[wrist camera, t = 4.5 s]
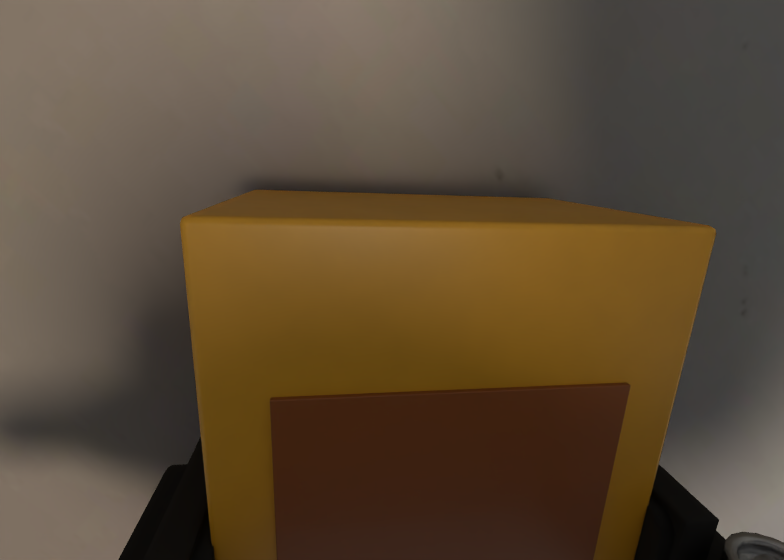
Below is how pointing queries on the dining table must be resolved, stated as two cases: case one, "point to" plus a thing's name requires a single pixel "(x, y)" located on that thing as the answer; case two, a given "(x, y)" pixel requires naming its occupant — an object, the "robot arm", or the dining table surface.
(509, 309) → the packet
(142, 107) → the dining table surface
